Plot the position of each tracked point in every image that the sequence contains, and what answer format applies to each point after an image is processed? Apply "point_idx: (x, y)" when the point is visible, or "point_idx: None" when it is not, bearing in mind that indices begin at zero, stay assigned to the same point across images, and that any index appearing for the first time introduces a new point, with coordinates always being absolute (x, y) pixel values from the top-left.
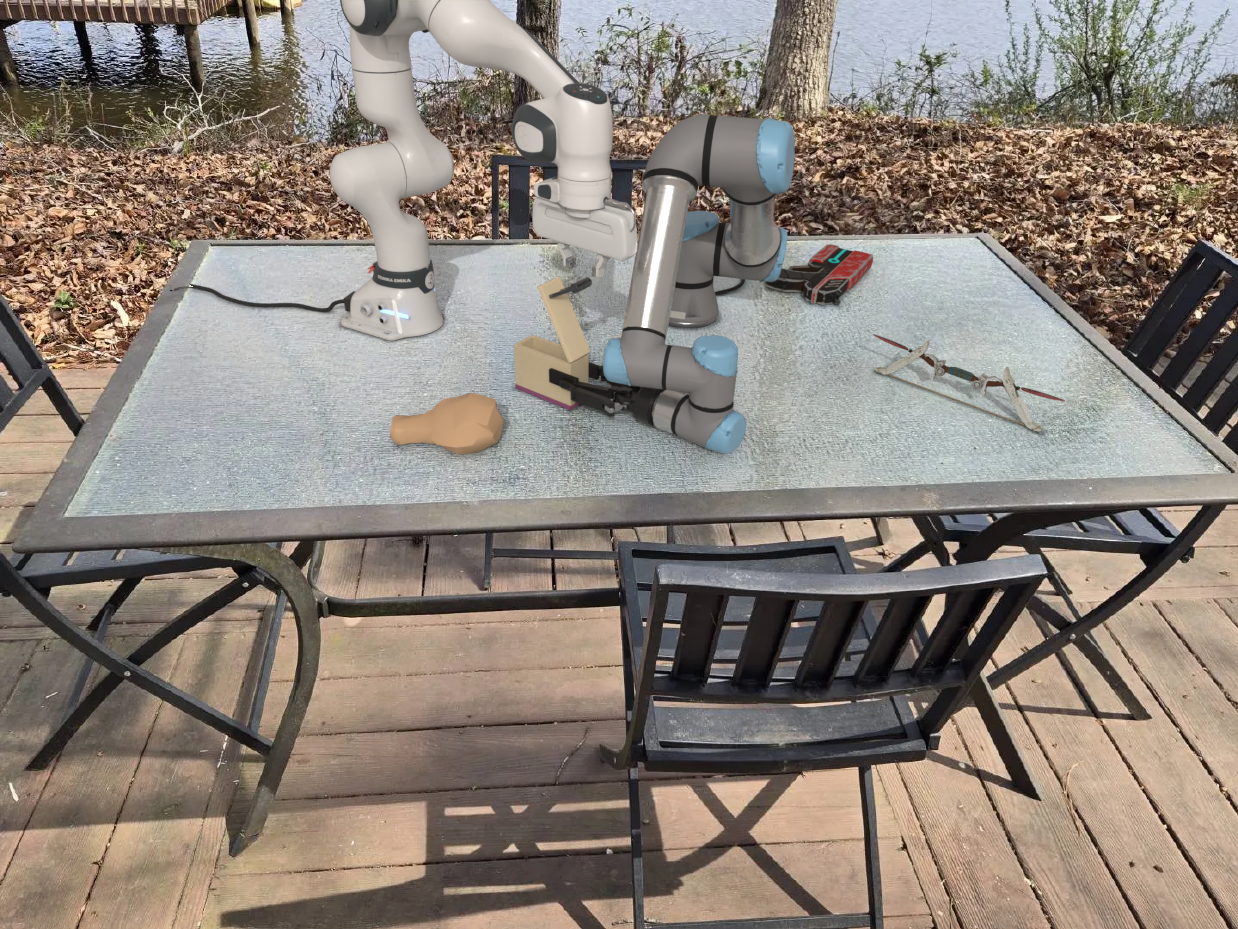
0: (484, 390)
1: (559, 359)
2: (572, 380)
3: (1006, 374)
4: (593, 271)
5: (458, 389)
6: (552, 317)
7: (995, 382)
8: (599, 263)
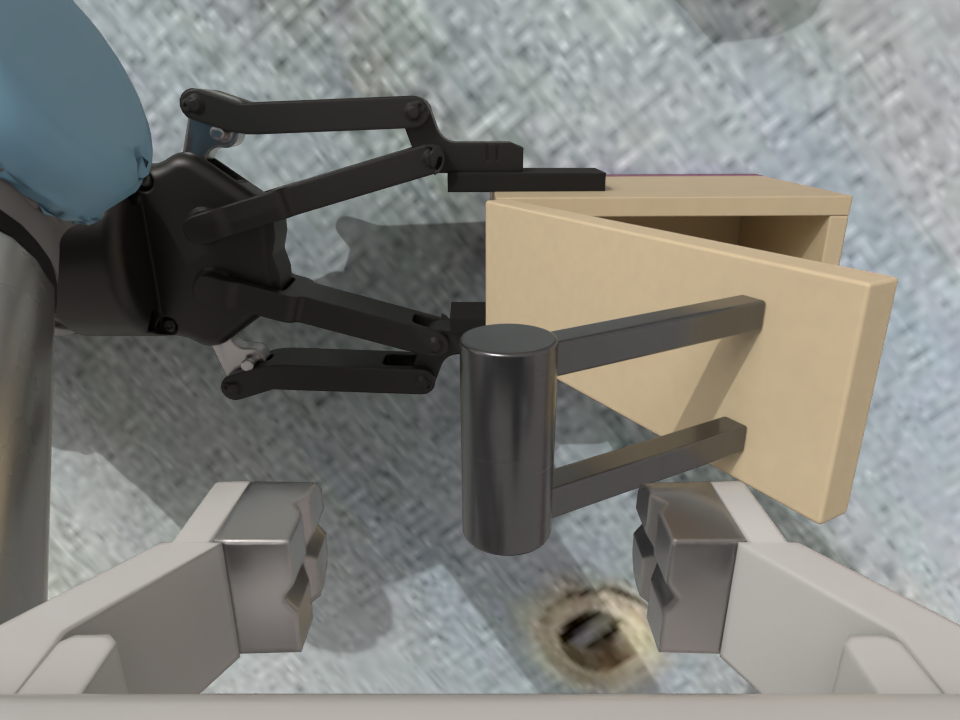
0: (851, 82)
1: (574, 212)
2: (468, 172)
3: None
4: (269, 506)
5: (949, 18)
6: (658, 234)
7: None
8: (98, 590)
